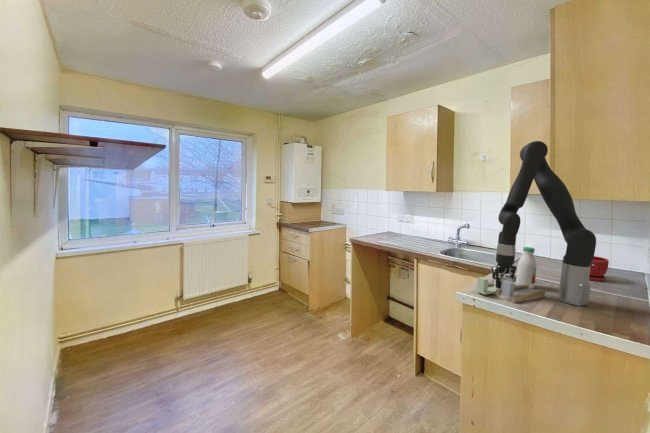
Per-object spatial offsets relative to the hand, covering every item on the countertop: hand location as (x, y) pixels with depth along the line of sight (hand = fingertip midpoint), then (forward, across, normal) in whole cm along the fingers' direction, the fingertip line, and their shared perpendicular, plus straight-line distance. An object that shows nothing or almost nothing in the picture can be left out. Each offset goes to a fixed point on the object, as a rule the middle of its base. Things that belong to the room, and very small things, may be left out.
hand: (502, 287), depth 136 cm
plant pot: (+2, +66, -2) cm, 66 cm away
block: (0, 0, 0) cm, 0 cm away
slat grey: (+1, +2, -7) cm, 8 cm away
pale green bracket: (+1, -5, 0) cm, 5 cm away
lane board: (+2, +2, -4) cm, 5 cm away
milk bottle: (+2, +18, +1) cm, 18 cm away
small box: (+2, +19, +14) cm, 24 cm away
